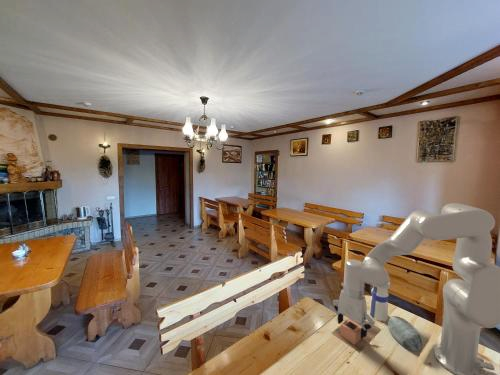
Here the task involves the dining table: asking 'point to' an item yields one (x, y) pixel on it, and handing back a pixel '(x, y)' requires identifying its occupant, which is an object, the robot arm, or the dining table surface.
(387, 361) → the dining table surface
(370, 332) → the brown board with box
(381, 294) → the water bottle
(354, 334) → the orange hollow square block
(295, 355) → the dining table surface
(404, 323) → the grey streaked oval part
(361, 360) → the dining table surface
